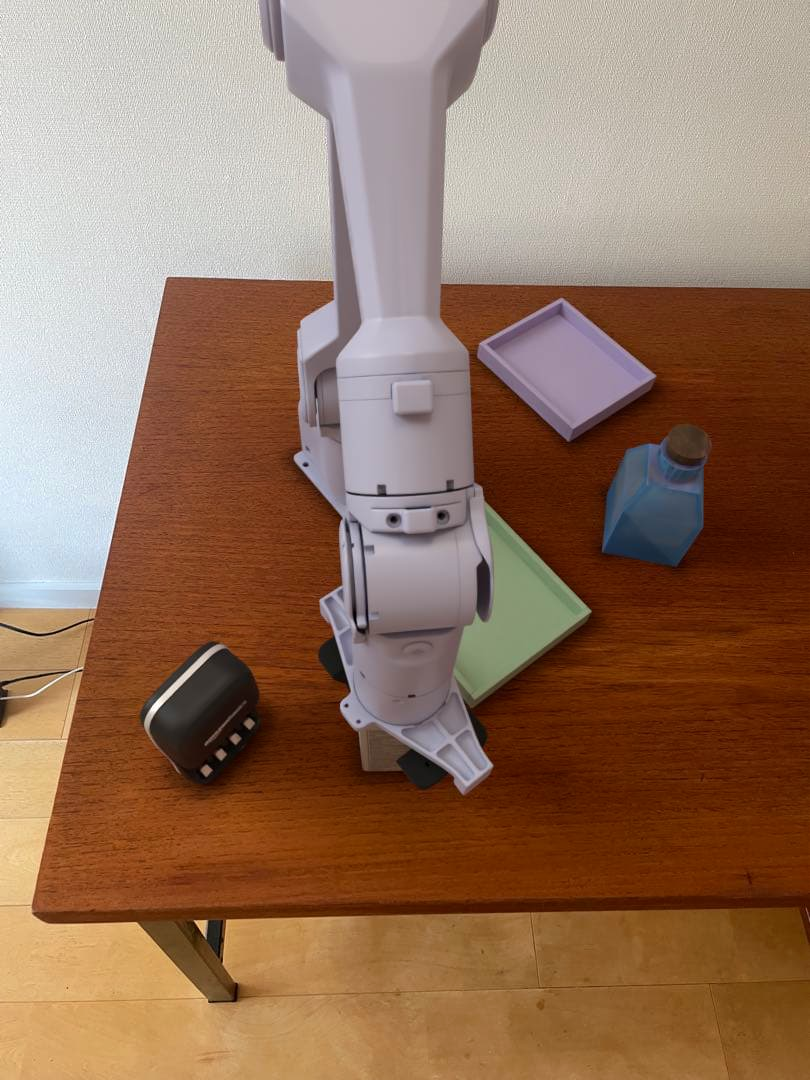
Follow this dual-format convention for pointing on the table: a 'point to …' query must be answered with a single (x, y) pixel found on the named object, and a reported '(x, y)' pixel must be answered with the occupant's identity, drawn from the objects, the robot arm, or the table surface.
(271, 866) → the table surface
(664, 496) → the perfume bottle
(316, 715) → the table surface
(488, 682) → the sage tray
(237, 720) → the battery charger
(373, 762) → the cream cardboard box
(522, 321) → the lavender tray
